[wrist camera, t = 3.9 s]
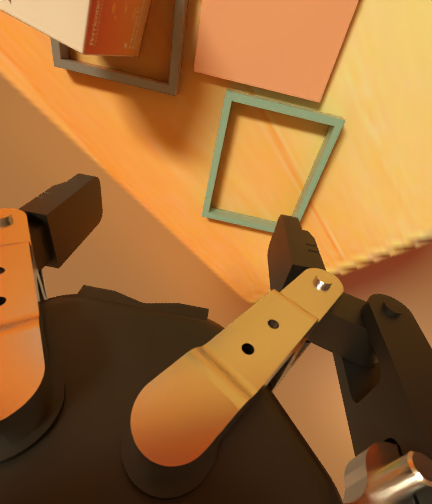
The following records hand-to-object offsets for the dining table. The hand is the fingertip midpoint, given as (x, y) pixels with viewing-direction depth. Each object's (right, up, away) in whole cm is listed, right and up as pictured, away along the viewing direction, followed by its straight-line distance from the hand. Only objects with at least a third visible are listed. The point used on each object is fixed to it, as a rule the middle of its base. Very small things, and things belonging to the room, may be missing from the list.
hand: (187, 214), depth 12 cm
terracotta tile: (+6, +19, +10) cm, 22 cm away
